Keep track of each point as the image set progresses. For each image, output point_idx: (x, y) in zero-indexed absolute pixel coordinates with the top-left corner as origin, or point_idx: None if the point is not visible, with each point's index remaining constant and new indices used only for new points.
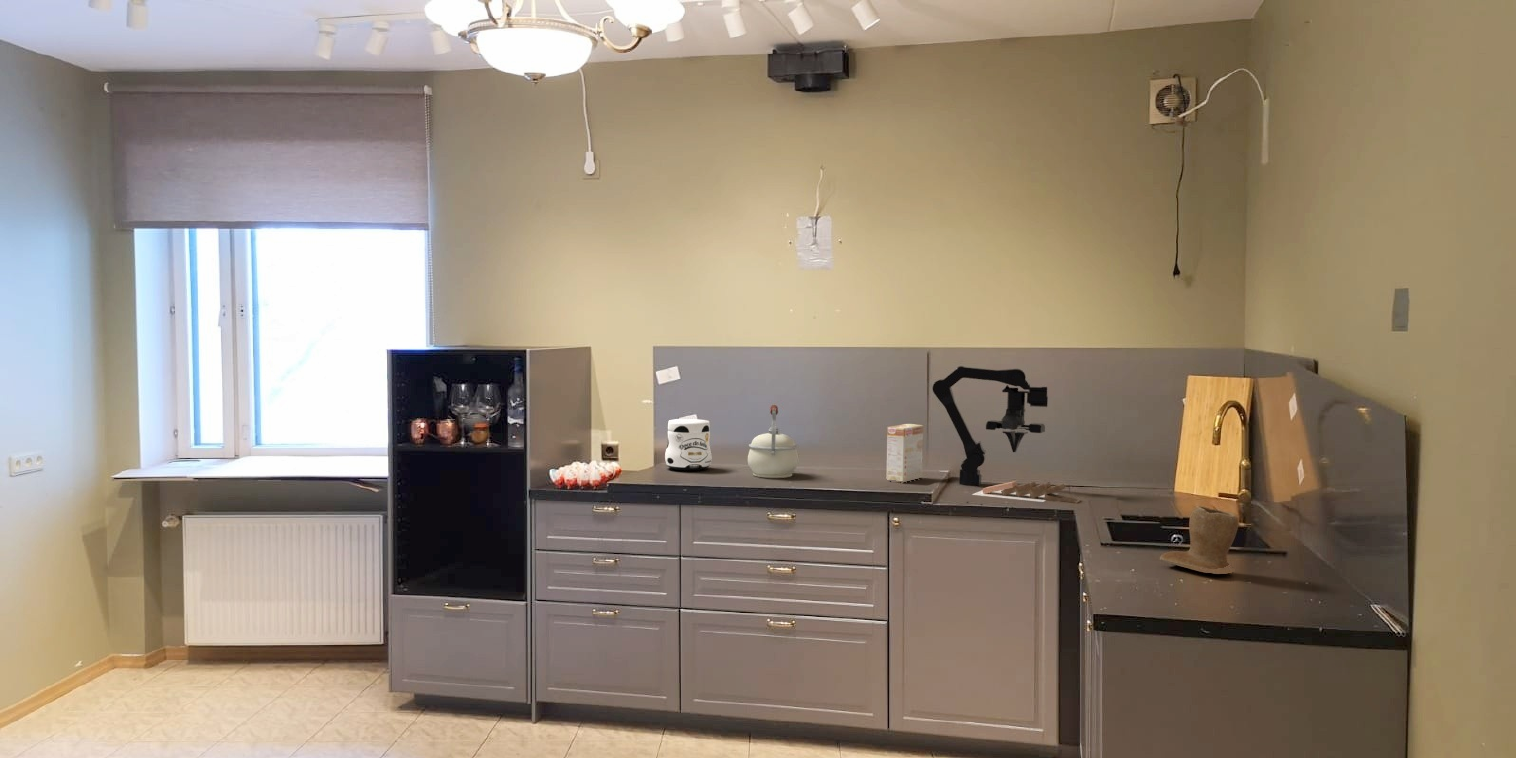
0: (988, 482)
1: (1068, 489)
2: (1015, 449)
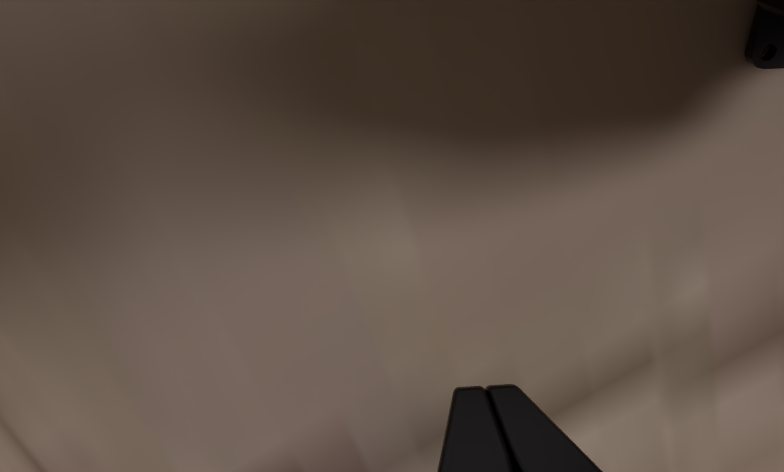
0: (692, 374)
1: (25, 441)
2: (456, 432)
